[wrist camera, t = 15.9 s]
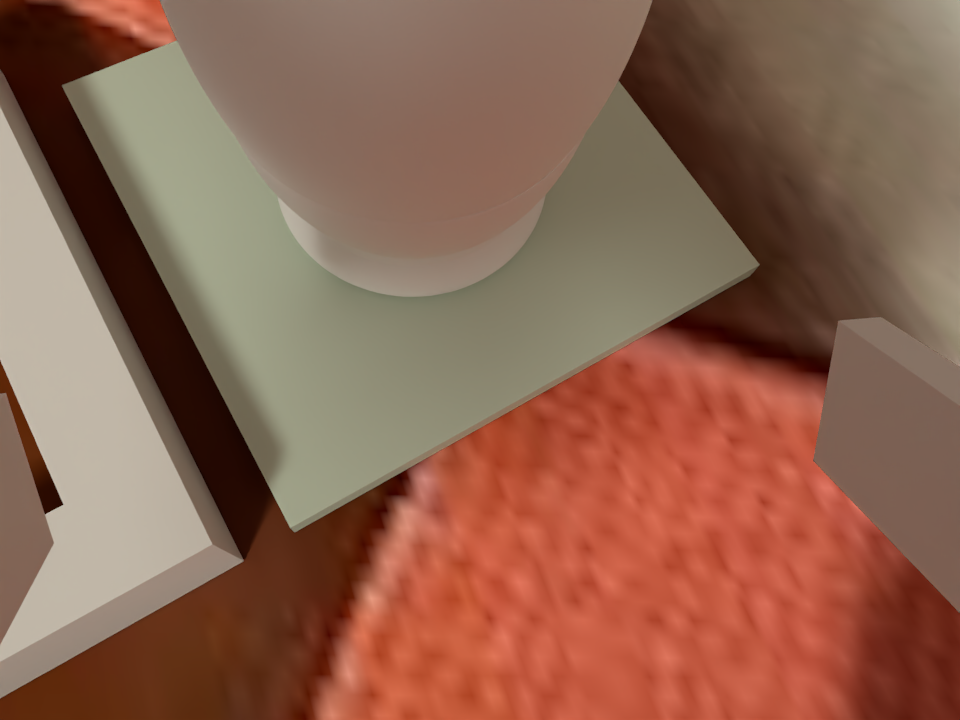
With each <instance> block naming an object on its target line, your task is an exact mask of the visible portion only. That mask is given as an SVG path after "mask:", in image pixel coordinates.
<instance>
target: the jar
mask: <svg viewBox="0 0 960 720" xmlns="http://www.w3.org/2000/svg"><path fill="white" fill-rule="evenodd" d="M160 2H161V5H162V7H163V10H164V12H165V15H166V17H167V19H168V22H169V24H170V26H171V28H172V31H173V33H174V35H175V37H176V39H177V41H178V43H179V46H180V48H181V50H182V52H183V54H184V55H185V57H186V59H187V61H188V63H189V65H190V67H191V69H192V71H193V72H194V74H195V76H196V78H197V79H198V81H199V83H200V85H201V86H202V88H203V90H204V91H205V93H206V94H207V96H208V98H209V99H210V101H211V102H212V104H213V106H214V107H215V109H216V110H217V112H218V113H219V115H220V116H221V117H222V119H223V120H224V122H225V123H226V125H227V126H228V127H229V129H230V130H231V131H232V133H233V134H234V135H235V137H236V138H237V140H238V142H239V144H240V145H241V147H242V149H243V150H244V152H245V154H246V155H247V157H248V158H249V160H250V161H251V163H252V164H253V166H254V167H255V169H256V170H257V172H258V173H259V174H260V176H261V177H262V178H263V179H264V181H265V182H266V183H267V184H268V186H269V187H270V188H271V189H272V190H273V192H274V193H275V194H276V195H277V197H278V201H279V205H280V208H281V211H282V214H283V217H284V219H285V221H286V223H287V225H288V227H289V229H290V231H291V233H292V234H293V236H294V237H295V239H296V240H297V241H298V243H299V244H300V245H301V247H302V248H303V249H304V250H305V251H306V252H307V253H308V254H309V256H311V257H312V258H313V259H314V260H315V261H316V262H317V263H318V264H319V265H321V266H322V267H323V268H324V269H326V270H327V271H329V272H330V273H332V274H333V275H335V276H337V277H338V278H340V279H342V280H344V281H346V282H348V283H350V284H352V285H355V286H357V287H360V288H363V289H366V290H369V291H372V292H376V293H380V294H386V295H392V296H401V297H423V296H433V295H439V294H444V293H448V292H452V291H456V290H459V289H462V288H465V287H467V286H470V285H472V284H474V283H476V282H479V281H481V280H482V279H484V278H486V277H488V276H489V275H491V274H492V273H494V272H495V271H497V270H498V269H500V268H501V267H502V266H503V265H505V264H506V263H507V262H508V261H509V260H510V259H511V258H512V257H513V256H514V255H515V254H516V253H517V252H518V251H519V250H520V249H521V247H522V246H523V245H524V244H525V242H526V241H527V239H528V238H529V236H530V235H531V233H532V231H533V230H534V228H535V226H536V224H537V221H538V219H539V217H540V214H541V211H542V208H543V204H544V200H545V195H546V194H547V192H548V191H549V190H550V189H551V188H552V186H553V185H554V184H555V182H556V181H557V180H558V178H559V177H560V176H561V174H562V173H563V171H564V170H565V168H566V167H567V165H568V164H569V162H570V160H571V159H572V157H573V155H574V154H575V152H576V150H577V148H578V147H579V145H580V143H581V141H582V139H583V137H584V135H585V133H586V131H587V130H588V128H589V127H590V126H591V124H592V123H593V121H594V120H595V118H596V117H597V116H598V114H599V112H600V111H601V109H602V108H603V106H604V105H605V103H606V101H607V100H608V98H609V96H610V95H611V93H612V91H613V89H614V88H615V86H616V84H617V82H618V80H619V78H620V76H621V74H622V73H623V71H624V69H625V67H626V64H627V62H628V60H629V58H630V56H631V54H632V52H633V49H634V47H635V45H636V42H637V40H638V38H639V35H640V33H641V30H642V28H643V25H644V23H645V20H646V17H647V15H648V12H649V9H650V6H651V3H652V0H160Z"/></svg>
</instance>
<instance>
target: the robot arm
mask: <svg viewBox="0 0 960 720" xmlns="http://www.w3.org/2000/svg"><path fill="white" fill-rule="evenodd" d="M813 461H814V462H815V463H816V464H817V465H818V466H819V467H820V468H821V469H822V470H823V471H824V472H825V473H826V474H827V475H828V476H829V478H830V479H831V480H832V481H833V482H834V483H835V484H836V485H837V486H838V487H839V488H840V489H841V490H842V491H843V492H844V493H845V494H846V495H847V496H848V497H849V498H850V499H851V500H852V501H853V503H854V504H855V505H856V506H857V507H858V508H859V509H860V510H861V511H862V512H863V513H864V514H865V515H866V516H867V517H868V518H869V519H870V520H871V521H872V522H873V523H874V524H875V525H876V526H877V527H878V529H879V530H880V531H881V532H882V533H883V534H884V535H885V536H886V537H887V538H888V539H889V540H890V541H891V542H892V543H893V544H894V545H895V546H896V547H897V548H898V549H899V550H900V551H901V552H902V554H903V555H904V556H905V557H906V558H907V559H908V560H909V561H910V562H911V563H912V564H913V565H914V566H915V567H916V568H917V569H918V570H919V571H920V572H921V573H922V574H923V575H924V576H925V577H926V579H927V580H928V581H929V582H930V583H931V584H932V585H933V586H934V587H935V588H936V589H937V590H938V591H939V592H940V593H941V594H942V595H943V596H944V597H945V598H946V599H947V600H948V601H949V602H950V604H951V605H952V606H953V607H954V608H955V609H956V610H957V611H958V612H959V613H960V367H959V366H957V365H956V364H954V363H953V362H951V361H949V360H948V359H946V358H945V357H943V356H942V355H940V354H938V353H937V352H935V351H934V350H932V349H931V348H929V347H927V346H926V345H924V344H923V343H921V342H920V341H918V340H916V339H915V338H913V337H912V336H910V335H909V334H907V333H905V332H904V331H902V330H901V329H899V328H898V327H896V326H894V325H893V324H891V323H890V322H888V321H887V320H885V319H883V318H882V317H875V318H864V319H852V320H841V321H838V326H837V331H836V337H835V342H834V348H833V353H832V359H831V365H830V370H829V376H828V381H827V387H826V392H825V398H824V404H823V409H822V415H821V420H820V426H819V431H818V437H817V443H816V448H815V454H814V459H813ZM53 544H54V541H53V538H52V535H51V532H50V529H49V526H48V523H47V520H46V516H45V513H44V510H43V507H42V504H41V501H40V498H39V495H38V492H37V489H36V485H35V482H34V479H33V476H32V473H31V470H30V467H29V464H28V461H27V458H26V455H25V451H24V448H23V445H22V442H21V439H20V436H19V433H18V430H17V427H16V424H15V420H14V417H13V414H12V411H11V408H10V405H9V402H8V399H7V396H6V393H3V394H0V644H1V642H2V641H3V639H4V637H5V635H6V633H7V631H8V629H9V627H10V625H11V624H12V622H13V620H14V618H15V616H16V614H17V612H18V610H19V608H20V606H21V605H22V603H23V601H24V599H25V597H26V595H27V593H28V591H29V589H30V588H31V586H32V584H33V582H34V580H35V578H36V576H37V574H38V572H39V571H40V569H41V567H42V565H43V563H44V561H45V559H46V557H47V555H48V554H49V552H50V550H51V548H52V546H53Z"/></svg>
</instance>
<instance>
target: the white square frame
mask: <svg viewBox="0 0 960 720" xmlns="http://www.w3.org/2000/svg"><path fill="white" fill-rule="evenodd" d="M0 360H1V363H2V365H3V367H4V369H5V372H6V374H7V376H8V379H9V381H10V383H11V386H12V388H13V390H14V392H15V395H16V397H17V399H18V402H19V404H20V406H21V408H22V411H23V413H24V415H25V418H26V420H27V422H28V424H29V427H30V429H31V431H32V434H33V436H34V438H35V441H36V443H37V445H38V447H39V450H40V452H41V454H42V457H43V459H44V461H45V463H46V466H47V468H48V470H49V473H50V475H51V477H52V479H53V482H54V484H55V486H56V489H57V491H58V493H59V496H60V498H61V500H62V502H63V505H62V506H60V507H58V508H56V509H54V510H52V511H50V512H49V513H47V514H45V516H46V520H47V523H48V526H49V529H50V532H51V535H52V538H53V541H54V544H53V546H52V548H51V550H50V552H49V554H48V555H47V557H46V559H45V561H44V563H43V565H42V567H41V569H40V571H39V572H38V574H37V576H36V578H35V580H34V582H33V584H32V586H31V588H30V589H29V591H28V593H27V595H26V597H25V599H24V601H23V603H22V605H21V606H20V608H19V610H18V612H17V614H16V616H15V618H14V620H13V622H12V624H11V625H10V627H9V629H8V631H7V633H6V635H5V637H4V639H3V641H2V642H1V644H0V698H1V697H3V696H5V695H7V694H9V693H10V692H12V691H14V690H16V689H17V688H19V687H21V686H23V685H24V684H26V683H28V682H30V681H32V680H33V679H35V678H37V677H39V676H40V675H42V674H44V673H46V672H48V671H49V670H51V669H53V668H55V667H56V666H58V665H60V664H62V663H64V662H65V661H67V660H69V659H71V658H72V657H74V656H76V655H78V654H80V653H81V652H83V651H85V650H87V649H88V648H90V647H92V646H94V645H96V644H97V643H99V642H101V641H103V640H104V639H106V638H108V637H110V636H112V635H113V634H115V633H117V632H119V631H120V630H122V629H124V628H126V627H127V626H129V625H131V624H133V623H135V622H136V621H138V620H140V619H142V618H143V617H145V616H147V615H149V614H151V613H152V612H154V611H156V610H158V609H159V608H161V607H163V606H165V605H167V604H168V603H170V602H172V601H174V600H175V599H177V598H179V597H181V596H183V595H184V594H186V593H188V592H190V591H191V590H193V589H195V588H197V587H199V586H200V585H202V584H204V583H206V582H207V581H209V580H211V579H213V578H215V577H216V576H218V575H220V574H222V573H223V572H225V571H227V570H229V569H231V568H232V567H234V566H236V565H238V564H239V563H241V562H243V561H244V560H243V558H242V556H241V554H240V552H239V550H238V548H237V546H236V544H235V542H234V540H233V538H232V536H231V534H230V532H229V530H228V528H227V526H226V524H225V522H224V520H223V518H222V516H221V514H220V511H219V509H218V507H217V505H216V503H215V501H214V499H213V497H212V495H211V493H210V491H209V489H208V487H207V485H206V483H205V481H204V479H203V477H202V475H201V473H200V471H199V469H198V467H197V465H196V463H195V461H194V459H193V457H192V455H191V453H190V451H189V449H188V447H187V445H186V443H185V441H184V439H183V437H182V435H181V432H180V430H179V428H178V426H177V424H176V422H175V420H174V418H173V416H172V414H171V412H170V410H169V408H168V406H167V404H166V402H165V400H164V398H163V396H162V394H161V392H160V390H159V388H158V386H157V384H156V382H155V380H154V378H153V376H152V374H151V372H150V370H149V368H148V366H147V364H146V362H145V360H144V358H143V356H142V353H141V351H140V349H139V347H138V345H137V343H136V341H135V339H134V337H133V335H132V333H131V331H130V329H129V327H128V325H127V323H126V321H125V319H124V317H123V315H122V313H121V311H120V309H119V307H118V305H117V303H116V301H115V299H114V297H113V295H112V293H111V291H110V289H109V287H108V285H107V283H106V281H105V279H104V277H103V274H102V272H101V270H100V268H99V266H98V264H97V262H96V260H95V258H94V256H93V254H92V252H91V250H90V248H89V246H88V244H87V242H86V240H85V238H84V236H83V234H82V232H81V230H80V228H79V226H78V224H77V222H76V220H75V218H74V216H73V214H72V212H71V210H70V208H69V206H68V204H67V202H66V200H65V198H64V195H63V193H62V191H61V189H60V187H59V185H58V183H57V181H56V179H55V177H54V175H53V173H52V171H51V169H50V167H49V165H48V163H47V161H46V159H45V157H44V155H43V153H42V151H41V149H40V147H39V145H38V143H37V141H36V139H35V137H34V135H33V133H32V131H31V129H30V127H29V125H28V123H27V121H26V119H25V117H24V114H23V112H22V110H21V108H20V106H19V104H18V102H17V100H16V98H15V96H14V94H13V92H12V90H11V88H10V86H9V84H8V82H7V80H6V78H5V76H4V74H3V73H2V71H1V70H0Z"/></svg>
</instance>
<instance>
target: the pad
mask: <svg viewBox="0 0 960 720" xmlns="http://www.w3.org/2000/svg"><path fill="white" fill-rule="evenodd" d="M62 87H63V89H64V91H65V93H66V95H67V97H68V99H69V101H70V103H71V105H72V107H73V109H74V111H75V112H76V114H77V116H78V118H79V120H80V122H81V124H82V126H83V128H84V130H85V132H86V134H87V136H88V138H89V140H90V142H91V143H92V145H93V147H94V149H95V151H96V153H97V155H98V157H99V159H100V161H101V163H102V165H103V167H104V169H105V171H106V172H107V174H108V176H109V178H110V180H111V182H112V184H113V186H114V188H115V190H116V192H117V194H118V196H119V198H120V200H121V201H122V203H123V205H124V207H125V209H126V211H127V213H128V215H129V217H130V219H131V221H132V223H133V225H134V227H135V229H136V230H137V232H138V234H139V236H140V238H141V240H142V242H143V244H144V246H145V248H146V250H147V252H148V254H149V256H150V258H151V259H152V261H153V263H154V265H155V267H156V269H157V271H158V273H159V275H160V277H161V279H162V281H163V283H164V285H165V287H166V288H167V290H168V292H169V294H170V296H171V298H172V300H173V302H174V304H175V306H176V308H177V310H178V312H179V314H180V316H181V318H182V319H183V321H184V323H185V325H186V327H187V329H188V331H189V333H190V335H191V337H192V339H193V341H194V343H195V345H196V347H197V348H198V350H199V352H200V354H201V356H202V358H203V360H204V362H205V364H206V366H207V368H208V370H209V372H210V374H211V376H212V377H213V379H214V381H215V383H216V385H217V387H218V389H219V391H220V393H221V395H222V397H223V399H224V401H225V403H226V405H227V406H228V408H229V410H230V412H231V414H232V416H233V418H234V420H235V422H236V424H237V426H238V428H239V430H240V432H241V434H242V435H243V437H244V439H245V441H246V443H247V445H248V447H249V449H250V451H251V453H252V455H253V457H254V459H255V461H256V463H257V465H258V466H259V468H260V470H261V472H262V474H263V476H264V478H265V480H266V482H267V484H268V486H269V488H270V490H271V492H272V494H273V495H274V497H275V499H276V501H277V503H278V505H279V507H280V509H281V511H282V513H283V515H284V517H285V519H286V521H287V523H288V524H289V526H290V528H291V529H292V530H293V531H294V532H296V531H298V530H300V529H302V528H303V527H305V526H307V525H309V524H310V523H312V522H314V521H316V520H318V519H319V518H321V517H323V516H325V515H326V514H328V513H330V512H332V511H334V510H335V509H337V508H339V507H341V506H342V505H344V504H346V503H348V502H350V501H351V500H353V499H355V498H357V497H358V496H360V495H362V494H364V493H365V492H367V491H369V490H371V489H373V488H374V487H376V486H378V485H380V484H381V483H383V482H385V481H387V480H389V479H390V478H392V477H394V476H396V475H397V474H399V473H401V472H403V471H405V470H406V469H408V468H410V467H412V466H413V465H415V464H417V463H419V462H421V461H422V460H424V459H426V458H428V457H429V456H431V455H433V454H435V453H437V452H438V451H440V450H442V449H444V448H445V447H447V446H449V445H451V444H453V443H454V442H456V441H458V440H460V439H461V438H463V437H465V436H467V435H469V434H470V433H472V432H474V431H476V430H477V429H479V428H481V427H483V426H484V425H486V424H488V423H490V422H492V421H493V420H495V419H497V418H499V417H500V416H502V415H504V414H506V413H508V412H509V411H511V410H513V409H515V408H516V407H518V406H520V405H522V404H524V403H525V402H527V401H529V400H531V399H532V398H534V397H536V396H538V395H540V394H541V393H543V392H545V391H547V390H548V389H550V388H552V387H554V386H556V385H557V384H559V383H561V382H563V381H564V380H566V379H568V378H570V377H572V376H573V375H575V374H577V373H579V372H580V371H582V370H584V369H586V368H588V367H589V366H591V365H593V364H595V363H596V362H598V361H600V360H602V359H603V358H605V357H607V356H609V355H611V354H612V353H614V352H616V351H618V350H619V349H621V348H623V347H625V346H627V345H628V344H630V343H632V342H634V341H635V340H637V339H639V338H641V337H643V336H644V335H646V334H648V333H650V332H651V331H653V330H655V329H657V328H659V327H660V326H662V325H664V324H666V323H667V322H669V321H671V320H673V319H675V318H676V317H678V316H680V315H682V314H683V313H685V312H687V311H689V310H691V309H692V308H694V307H696V306H698V305H699V304H701V303H703V302H705V301H706V300H708V299H710V298H712V297H714V296H715V295H717V294H719V293H721V292H722V291H724V290H726V289H728V288H730V287H731V286H733V285H735V284H737V283H738V282H740V281H742V280H744V279H746V278H747V277H749V276H750V275H751V274H752V273H753V272H754V271H755V270H756V268H757V267H758V266H759V263H758V262H757V261H756V259H755V258H754V257H753V255H752V254H751V253H750V251H749V250H748V249H747V248H746V246H745V245H744V244H743V242H742V241H741V240H740V238H739V237H738V236H737V235H736V233H735V232H734V231H733V229H732V228H731V227H730V225H729V224H728V223H727V221H726V220H725V219H724V218H723V216H722V215H721V214H720V212H719V211H718V210H717V208H716V207H715V206H714V205H713V203H712V202H711V201H710V199H709V198H708V197H707V195H706V194H705V193H704V191H703V190H702V189H701V188H700V186H699V185H698V184H697V182H696V181H695V180H694V178H693V177H692V176H691V175H690V173H689V172H688V171H687V169H686V168H685V167H684V165H683V164H682V163H681V162H680V160H679V159H678V158H677V156H676V155H675V154H674V152H673V151H672V150H671V148H670V147H669V146H668V145H667V143H666V142H665V141H664V139H663V138H662V137H661V135H660V134H659V133H658V132H657V130H656V129H655V128H654V126H653V125H652V124H651V122H650V121H649V120H648V118H647V117H646V116H645V115H644V113H643V112H642V111H641V109H640V108H639V107H638V105H637V104H636V103H635V102H634V100H633V99H632V98H631V96H630V95H629V94H628V92H627V91H626V90H625V88H624V87H623V86H622V85H621V83H620V82H619V81H618V82H617V84H616V86H615V88H614V89H613V91H612V93H611V95H610V96H609V98H608V100H607V101H606V103H605V105H604V106H603V108H602V109H601V111H600V112H599V114H598V116H597V117H596V118H595V120H594V121H593V123H592V124H591V126H590V127H589V128H588V130H587V131H586V133H585V135H584V137H583V139H582V141H581V143H580V145H579V147H578V148H577V150H576V152H575V154H574V155H573V157H572V159H571V160H570V162H569V164H568V165H567V167H566V168H565V170H564V171H563V173H562V174H561V176H560V177H559V178H558V180H557V181H556V182H555V184H554V185H553V186H552V188H551V189H550V190H549V191H548V192H547V194H546V195H545V200H544V204H543V208H542V211H541V214H540V217H539V219H538V221H537V224H536V226H535V228H534V230H533V231H532V233H531V235H530V236H529V238H528V239H527V241H526V242H525V244H524V245H523V246H522V247H521V249H520V250H519V251H518V252H517V253H516V254H515V255H514V256H513V257H512V258H511V259H510V260H509V261H508V262H507V263H506V264H505V265H503V266H502V267H501V268H500V269H498V270H497V271H495V272H494V273H492V274H491V275H489V276H488V277H486V278H484V279H482V280H481V281H479V282H476V283H474V284H472V285H470V286H467V287H465V288H462V289H459V290H456V291H452V292H448V293H444V294H439V295H433V296H423V297H401V296H392V295H386V294H380V293H376V292H372V291H369V290H366V289H363V288H360V287H357V286H355V285H352V284H350V283H348V282H346V281H344V280H342V279H340V278H338V277H337V276H335V275H333V274H332V273H330V272H329V271H327V270H326V269H324V268H323V267H322V266H321V265H319V264H318V263H317V262H316V261H315V260H314V259H313V258H312V257H311V256H309V254H308V253H307V252H306V251H305V250H304V249H303V248H302V247H301V245H300V244H299V243H298V241H297V240H296V239H295V237H294V236H293V234H292V233H291V231H290V229H289V227H288V225H287V223H286V221H285V219H284V217H283V214H282V211H281V208H280V205H279V201H278V197H277V195H276V194H275V193H274V192H273V190H272V189H271V188H270V187H269V186H268V184H267V183H266V182H265V181H264V179H263V178H262V177H261V176H260V174H259V173H258V172H257V170H256V169H255V167H254V166H253V164H252V163H251V161H250V160H249V158H248V157H247V155H246V154H245V152H244V150H243V149H242V147H241V145H240V144H239V142H238V140H237V138H236V137H235V135H234V134H233V133H232V131H231V130H230V129H229V127H228V126H227V125H226V123H225V122H224V120H223V119H222V117H221V116H220V115H219V113H218V112H217V110H216V109H215V107H214V106H213V104H212V102H211V101H210V99H209V98H208V96H207V94H206V93H205V91H204V90H203V88H202V86H201V85H200V83H199V81H198V79H197V78H196V76H195V74H194V72H193V71H192V69H191V67H190V65H189V63H188V61H187V59H186V57H185V55H184V54H183V52H182V50H181V48H180V46H179V43H178V41H174V42H172V43H169V44H167V45H164V46H162V47H159V48H157V49H154V50H151V51H149V52H146V53H144V54H141V55H139V56H136V57H133V58H131V59H128V60H126V61H123V62H121V63H118V64H115V65H113V66H110V67H108V68H105V69H103V70H100V71H97V72H95V73H92V74H90V75H87V76H85V77H82V78H79V79H77V80H74V81H72V82H69V83H67V84H64V85H62Z"/></svg>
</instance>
